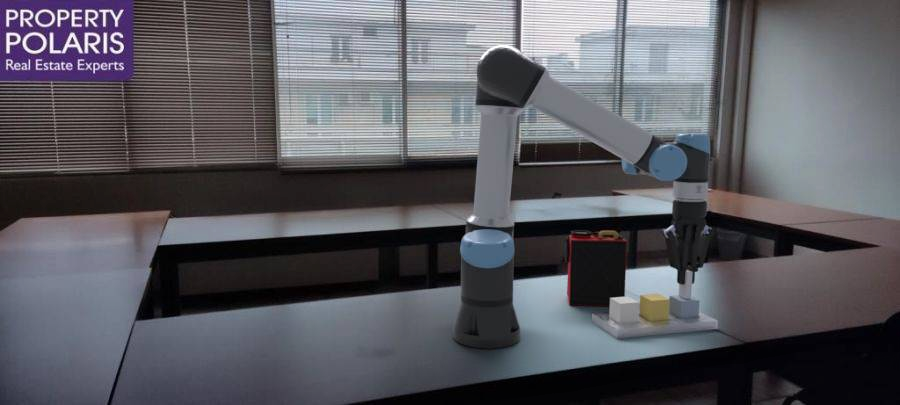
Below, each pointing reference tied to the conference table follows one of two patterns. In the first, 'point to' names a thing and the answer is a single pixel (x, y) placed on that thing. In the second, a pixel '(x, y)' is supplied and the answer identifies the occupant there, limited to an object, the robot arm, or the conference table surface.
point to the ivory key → (624, 310)
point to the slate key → (684, 307)
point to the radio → (595, 267)
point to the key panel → (654, 325)
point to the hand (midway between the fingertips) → (684, 296)
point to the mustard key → (654, 307)
